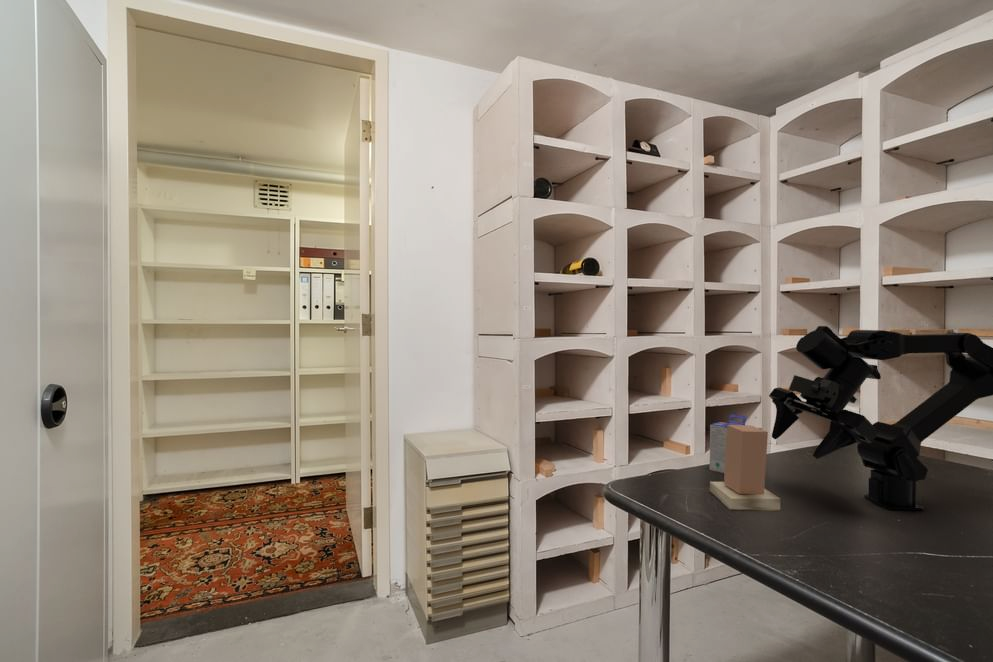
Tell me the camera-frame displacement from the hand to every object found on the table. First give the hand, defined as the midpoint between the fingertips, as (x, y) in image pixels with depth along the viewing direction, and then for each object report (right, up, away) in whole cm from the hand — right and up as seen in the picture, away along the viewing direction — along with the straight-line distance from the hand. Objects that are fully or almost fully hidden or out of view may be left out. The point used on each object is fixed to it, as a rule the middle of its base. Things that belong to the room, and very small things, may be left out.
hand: (793, 447), depth 88 cm
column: (-9, -8, 0) cm, 13 cm away
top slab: (-10, -10, 0) cm, 14 cm away
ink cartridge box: (-2, -12, +17) cm, 21 cm away
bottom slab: (-9, -12, 0) cm, 16 cm away
